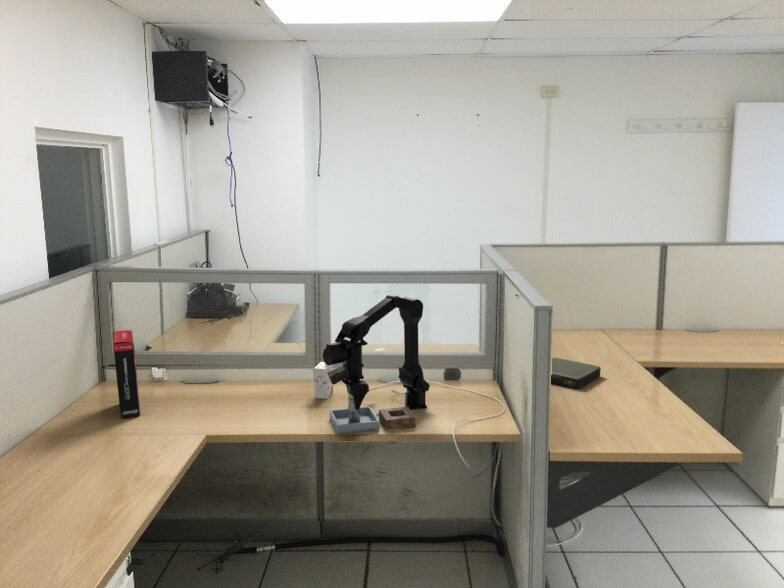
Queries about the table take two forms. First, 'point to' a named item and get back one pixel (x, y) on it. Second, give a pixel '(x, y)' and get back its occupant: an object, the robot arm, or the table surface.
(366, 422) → the tray
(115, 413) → the table surface
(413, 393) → the robot arm
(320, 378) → the ink cartridge box
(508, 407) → the table surface
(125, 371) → the graphics card box
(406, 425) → the hitch block
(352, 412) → the steel pin
